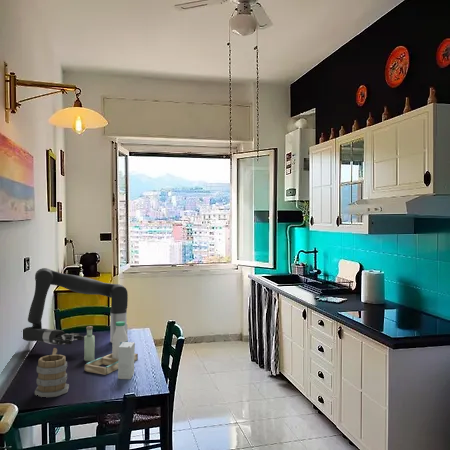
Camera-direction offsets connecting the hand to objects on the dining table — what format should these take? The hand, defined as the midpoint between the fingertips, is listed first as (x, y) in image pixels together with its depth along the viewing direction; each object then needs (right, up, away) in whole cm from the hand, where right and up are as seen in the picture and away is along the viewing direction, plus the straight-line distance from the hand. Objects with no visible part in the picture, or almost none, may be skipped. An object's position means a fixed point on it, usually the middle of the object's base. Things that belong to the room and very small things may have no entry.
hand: (77, 340), depth 233 cm
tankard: (+4, -10, -42) cm, 44 cm away
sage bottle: (+7, -9, -3) cm, 12 cm away
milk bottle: (+24, -9, -6) cm, 26 cm away
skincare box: (+31, -10, -27) cm, 43 cm away
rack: (+21, -9, -12) cm, 26 cm away
